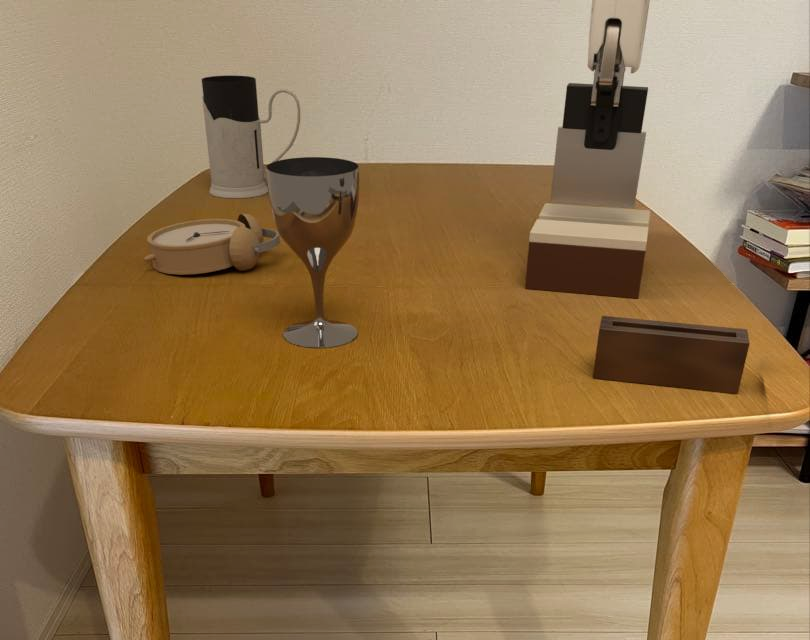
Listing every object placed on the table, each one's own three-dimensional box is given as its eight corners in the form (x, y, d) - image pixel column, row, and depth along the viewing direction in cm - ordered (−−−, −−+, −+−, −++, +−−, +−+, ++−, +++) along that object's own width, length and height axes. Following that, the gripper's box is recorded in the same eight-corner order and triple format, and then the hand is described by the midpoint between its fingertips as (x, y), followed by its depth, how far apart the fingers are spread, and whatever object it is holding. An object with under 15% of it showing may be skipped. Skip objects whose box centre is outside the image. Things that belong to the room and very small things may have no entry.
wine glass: (275, 349, 81) (261, 176, 72) (282, 318, 87) (270, 156, 79) (361, 349, 81) (358, 176, 72) (362, 318, 87) (359, 157, 79)
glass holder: (216, 184, 135) (204, 74, 127) (308, 185, 135) (302, 75, 126) (203, 197, 128) (190, 82, 120) (300, 199, 128) (293, 84, 119)
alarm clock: (153, 224, 105) (276, 199, 104) (166, 264, 108) (286, 241, 107) (135, 251, 96) (270, 225, 95) (150, 295, 98) (281, 269, 98)
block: (735, 379, 76) (747, 328, 73) (737, 394, 73) (749, 342, 71) (595, 364, 78) (602, 315, 76) (592, 378, 76) (599, 328, 73)
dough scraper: (634, 205, 95) (653, 87, 89) (633, 210, 93) (653, 90, 87) (551, 199, 97) (564, 82, 90) (549, 203, 95) (561, 85, 89)
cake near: (639, 282, 97) (648, 227, 94) (637, 298, 93) (647, 241, 90) (532, 273, 100) (536, 218, 96) (524, 288, 95) (529, 232, 92)
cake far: (642, 263, 103) (650, 210, 100) (640, 277, 99) (649, 222, 95) (540, 254, 106) (545, 202, 102) (534, 268, 101) (538, 214, 98)
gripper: (668, -69, 74) (633, 164, 85) (670, -67, 87) (639, 134, 97) (579, -70, 76) (555, 159, 86) (593, -68, 89) (571, 130, 99)
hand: (600, 144), depth 92 cm, fingers closed on dough scraper, 2 cm apart
